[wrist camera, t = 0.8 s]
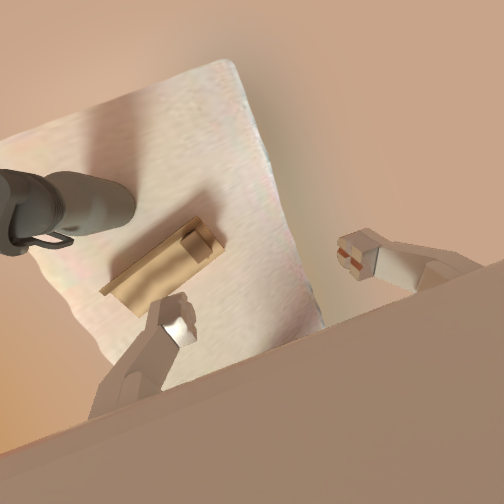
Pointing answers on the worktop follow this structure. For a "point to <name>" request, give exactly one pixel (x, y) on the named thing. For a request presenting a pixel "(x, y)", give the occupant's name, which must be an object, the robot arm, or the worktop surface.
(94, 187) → the water bottle
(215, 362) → the worktop surface
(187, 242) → the brown block
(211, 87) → the worktop surface
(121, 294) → the board
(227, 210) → the worktop surface
